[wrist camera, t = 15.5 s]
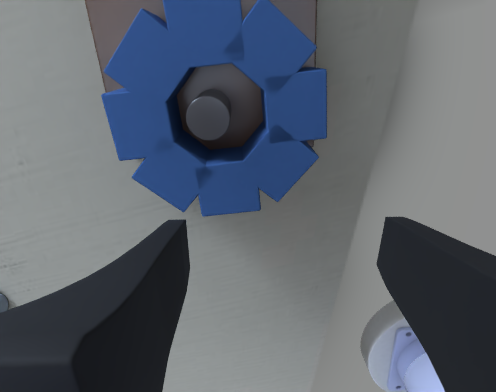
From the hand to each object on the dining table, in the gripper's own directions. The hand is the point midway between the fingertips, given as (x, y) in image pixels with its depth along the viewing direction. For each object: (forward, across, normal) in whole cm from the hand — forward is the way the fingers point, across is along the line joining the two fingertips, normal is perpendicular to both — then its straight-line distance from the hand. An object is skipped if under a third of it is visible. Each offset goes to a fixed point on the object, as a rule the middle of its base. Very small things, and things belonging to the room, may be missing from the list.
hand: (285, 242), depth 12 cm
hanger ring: (+8, +3, -4) cm, 9 cm away
